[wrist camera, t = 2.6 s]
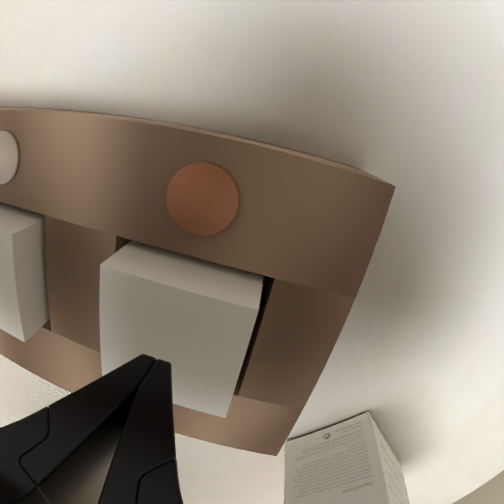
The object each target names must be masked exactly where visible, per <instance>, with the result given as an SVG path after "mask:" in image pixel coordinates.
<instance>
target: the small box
mask: <svg viewBox="0 0 504 504" xmlns="http://www.w3.org/2000/svg"><path fill="white" fill-rule="evenodd" d="M284 504H410V503H409V498H408V494H407V489H406V485H405V481H404V477H403V473H402V469H401V465H400V462H399V461H398V459H397V458H396V456H395V455H394V453H393V451H392V450H391V448H390V446H389V445H388V443H387V441H386V440H385V438H384V436H383V434H382V433H381V431H380V430H379V428H378V426H377V425H376V423H375V421H374V420H373V418H372V416H371V414H370V413H369V412H366V413H363V414H361V415H359V416H356V417H354V418H351V419H349V420H346V421H344V422H341V423H339V424H336V425H334V426H331V427H328V428H326V429H323V430H320V431H317V432H314V433H312V434H309V435H306V436H303V437H300V438H297V439H294V440H291V441H288V442H286V447H285V488H284Z"/></svg>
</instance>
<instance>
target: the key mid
mask: <svg viewBox="0 0 504 504" xmlns="http://www.w3.org/2000/svg"><path fill="white" fill-rule="evenodd" d="M49 319H50V316H49V306H48V295H47V281H46V260H45V215H43V214H40V213H36V212H33V211H30V210H26V209H23V208H19V207H16V206H13V205H10V204H6V203H3V202H0V329H2V330H3V331H5V332H7V333H9V334H10V335H12V336H14V337H16V338H18V339H19V340H21V341H23V342H26V341H27V340H28V339H29V338H30V337H31V336H32V335H33V334H34V333H35V332H37V331H38V330H39V329H40V328H41V327H42V326H43V325H44V324H45V323H46V322H47V321H48V320H49Z"/></svg>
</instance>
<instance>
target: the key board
mask: <svg viewBox="0 0 504 504" xmlns="http://www.w3.org/2000/svg"><path fill="white" fill-rule="evenodd" d="M394 189H395V186H393V185H391V184H389V183H387V182H385V181H383V180H381V179H379V178H377V177H374V176H372V175H370V174H368V173H366V172H364V171H361V170H358V169H355V168H352V167H349V166H346V165H342V164H339V163H336V162H333V161H329V160H326V159H323V158H319V157H316V156H312V155H309V154H305V153H302V152H298V151H294V150H291V149H287V148H283V147H279V146H275V145H271V144H267V143H263V142H259V141H255V140H251V139H247V138H242V137H238V136H233V135H229V134H224V133H219V132H215V131H210V130H205V129H200V128H194V127H189V126H184V125H178V124H172V123H166V122H160V121H154V120H148V119H141V118H134V117H127V116H119V115H111V114H102V113H93V112H82V111H71V110H58V109H42V108H19V107H0V202H3V203H6V204H10V205H13V206H16V207H19V208H23V209H26V210H30V211H33V212H36V213H40V214H43V215H45V260H46V281H47V295H48V306H49V316H50V319H49V320H48V321H47V322H46V323H45V324H44V325H43V326H42V327H41V328H40V329H39V330H38V331H37V332H35V333H34V334H33V335H32V336H31V337H30V338H29V339H28V340H27V341H26V342H23V341H21V340H19V339H18V338H16V337H14V336H12V335H10V334H9V333H7V332H5V331H3V330H2V329H0V354H1V355H3V356H5V357H6V358H8V359H9V360H11V361H13V362H15V363H16V364H18V365H20V366H21V367H23V368H25V369H27V370H28V371H30V372H32V373H34V374H36V375H38V376H39V377H41V378H43V379H45V380H47V381H49V382H51V383H53V384H55V385H57V386H59V387H61V388H63V389H65V390H67V391H69V392H71V393H73V392H75V391H77V390H78V389H80V388H82V387H84V386H86V385H88V384H89V383H91V382H93V381H95V380H97V379H98V378H100V377H102V367H101V350H100V316H99V292H100V264H102V263H103V262H104V261H105V260H107V259H108V258H109V257H111V256H112V255H113V254H114V253H116V252H117V251H118V250H120V249H121V248H122V247H124V246H125V245H126V244H128V243H129V242H130V241H132V240H134V241H137V242H141V243H144V244H148V245H152V246H155V247H159V248H163V249H166V250H170V251H174V252H177V253H181V254H185V255H188V256H192V257H196V258H199V259H203V260H207V261H211V262H214V263H218V264H222V265H226V266H230V267H233V268H237V269H241V270H245V271H249V272H252V273H256V274H260V275H264V276H267V277H266V281H265V284H264V288H263V291H262V294H261V298H260V305H259V311H258V314H257V317H256V321H255V324H254V327H253V331H252V334H251V337H250V341H249V344H248V347H247V351H246V354H245V357H244V361H243V364H242V367H241V370H240V374H239V377H238V380H237V383H236V387H235V390H234V393H233V396H232V399H231V403H230V406H229V409H228V412H227V415H226V418H223V417H219V416H215V415H211V414H207V413H204V412H200V411H196V410H193V409H189V408H186V407H183V406H179V405H176V404H173V417H174V432H175V433H179V434H182V435H186V436H189V437H193V438H196V439H200V440H204V441H208V442H212V443H216V444H220V445H224V446H228V447H233V448H237V449H242V450H247V451H252V452H257V453H262V454H268V455H274V456H277V454H278V453H279V451H280V449H281V448H282V446H283V444H284V442H285V441H286V439H287V437H288V435H289V434H290V432H291V430H292V428H293V426H294V425H295V423H296V421H297V419H298V417H299V415H300V414H301V412H302V410H303V408H304V406H305V404H306V402H307V400H308V398H309V396H310V395H311V393H312V391H313V389H314V387H315V385H316V383H317V381H318V379H319V377H320V375H321V373H322V371H323V369H324V367H325V364H326V362H327V360H328V358H329V356H330V354H331V352H332V350H333V348H334V345H335V343H336V341H337V339H338V337H339V334H340V332H341V330H342V328H343V325H344V323H345V321H346V319H347V316H348V314H349V312H350V309H351V307H352V304H353V302H354V300H355V297H356V295H357V292H358V290H359V287H360V285H361V282H362V280H363V277H364V275H365V272H366V270H367V267H368V265H369V262H370V259H371V257H372V254H373V251H374V248H375V246H376V243H377V240H378V237H379V235H380V232H381V229H382V226H383V223H384V220H385V217H386V214H387V211H388V208H389V205H390V202H391V199H392V196H393V193H394Z"/></svg>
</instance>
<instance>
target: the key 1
mask: <svg viewBox="0 0 504 504" xmlns="http://www.w3.org/2000/svg"><path fill="white" fill-rule="evenodd" d="M263 278H264V275H260V274H256V273H252V272H249V271H245V270H241V269H237V268H233V267H230V266H226V265H222V264H218V263H214V262H211V261H207V260H203V259H199V258H196V257H192V256H188V255H185V254H181V253H177V252H174V251H170V250H166V249H163V248H159V247H155V246H152V245H148V244H144V243H141V242H137V241H134V240H132V241H130V242H129V243H128V244H126V245H125V246H124V247H122V248H121V249H120V250H118V251H117V252H116V253H114V254H113V255H112V256H111V257H109V258H108V259H107V260H105V261H104V262H103V263H102V264H100V292H99V316H100V350H101V367H102V376H104V375H105V374H107V373H109V372H111V371H113V370H114V369H116V368H118V367H120V366H121V365H123V364H125V363H127V362H128V361H130V360H132V359H134V358H135V357H137V356H139V355H141V354H146V355H149V356H152V357H155V358H156V360H157V359H161V360H164V361H168V362H170V363H171V365H172V395H173V404H176V405H179V406H183V407H186V408H189V409H193V410H196V411H200V412H204V413H207V414H211V415H215V416H219V417H223V418H226V415H227V412H228V409H229V406H230V403H231V399H232V396H233V393H234V390H235V387H236V383H237V380H238V377H239V374H240V370H241V367H242V364H243V361H244V357H245V354H246V351H247V347H248V344H249V341H250V337H251V334H252V331H253V327H254V324H255V321H256V317H257V314H258V311H259V305H260V298H261V292H262V285H263Z"/></svg>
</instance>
